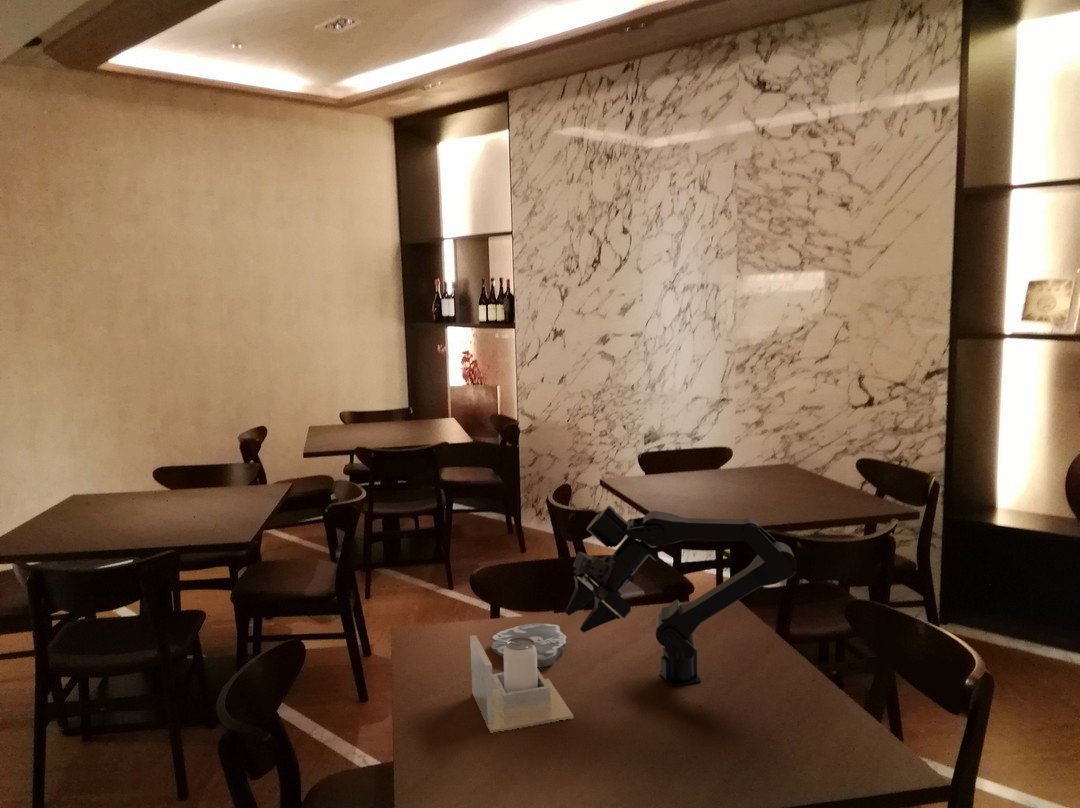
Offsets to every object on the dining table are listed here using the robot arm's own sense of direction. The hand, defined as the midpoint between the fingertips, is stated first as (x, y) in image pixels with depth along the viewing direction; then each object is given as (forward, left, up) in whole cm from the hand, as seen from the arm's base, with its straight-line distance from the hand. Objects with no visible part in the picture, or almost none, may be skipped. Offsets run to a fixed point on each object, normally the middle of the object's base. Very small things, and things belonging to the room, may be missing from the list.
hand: (574, 622), depth 161 cm
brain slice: (+5, -19, -14) cm, 24 cm away
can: (+12, +4, -13) cm, 18 cm away
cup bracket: (+13, +4, -14) cm, 19 cm away
